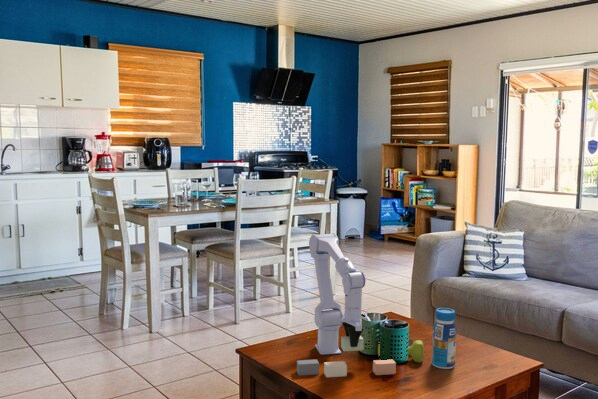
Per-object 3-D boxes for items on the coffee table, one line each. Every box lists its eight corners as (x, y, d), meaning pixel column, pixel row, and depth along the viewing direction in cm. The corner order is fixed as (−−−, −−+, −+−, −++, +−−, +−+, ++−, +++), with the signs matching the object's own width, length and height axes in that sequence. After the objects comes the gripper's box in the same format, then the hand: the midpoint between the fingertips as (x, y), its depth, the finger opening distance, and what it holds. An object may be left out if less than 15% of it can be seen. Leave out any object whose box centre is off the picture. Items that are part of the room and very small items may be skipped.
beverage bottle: (428, 360, 214) (430, 306, 212) (450, 360, 214) (453, 306, 212) (435, 369, 205) (437, 314, 203) (458, 369, 206) (461, 313, 204)
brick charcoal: (296, 371, 203) (296, 360, 202) (316, 370, 204) (316, 359, 203) (298, 375, 199) (298, 364, 199) (318, 374, 200) (319, 363, 200)
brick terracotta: (372, 371, 204) (373, 360, 203) (392, 370, 205) (392, 359, 205) (375, 375, 200) (376, 364, 200) (395, 374, 202) (396, 363, 201)
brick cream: (324, 373, 201) (324, 362, 201) (343, 372, 203) (344, 361, 202) (326, 377, 198) (326, 366, 197) (346, 376, 199) (346, 365, 199)
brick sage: (341, 347, 206) (341, 336, 206) (360, 346, 208) (360, 335, 207) (344, 351, 203) (344, 340, 203) (363, 350, 204) (363, 338, 204)
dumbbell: (377, 362, 212) (378, 342, 212) (378, 353, 220) (378, 335, 219) (424, 365, 210) (424, 345, 209) (423, 357, 218) (423, 338, 217)
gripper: (336, 301, 210) (335, 338, 211) (347, 313, 196) (346, 352, 197) (355, 300, 211) (354, 337, 213) (368, 312, 197) (367, 351, 199)
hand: (352, 344), depth 205 cm, fingers closed on brick sage, 3 cm apart
